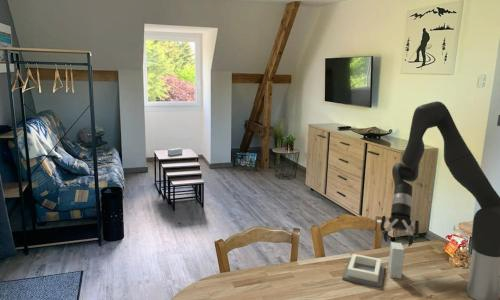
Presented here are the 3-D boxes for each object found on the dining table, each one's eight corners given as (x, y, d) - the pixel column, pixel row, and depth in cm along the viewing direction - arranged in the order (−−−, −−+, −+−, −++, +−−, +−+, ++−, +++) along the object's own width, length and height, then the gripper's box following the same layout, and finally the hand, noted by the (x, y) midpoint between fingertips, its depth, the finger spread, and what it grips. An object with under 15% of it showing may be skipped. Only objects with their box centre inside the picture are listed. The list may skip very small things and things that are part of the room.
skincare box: (401, 278, 146) (404, 250, 143) (390, 277, 147) (392, 248, 144) (399, 270, 152) (401, 242, 149) (387, 269, 153) (390, 241, 150)
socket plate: (384, 267, 154) (385, 258, 153) (381, 287, 140) (382, 277, 139) (349, 260, 160) (349, 251, 159) (342, 279, 145) (343, 269, 145)
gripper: (383, 199, 158) (378, 236, 150) (421, 205, 153) (418, 243, 145) (383, 207, 164) (378, 243, 156) (419, 212, 159) (416, 250, 151)
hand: (397, 243), depth 151 cm, fingers open, 8 cm apart
